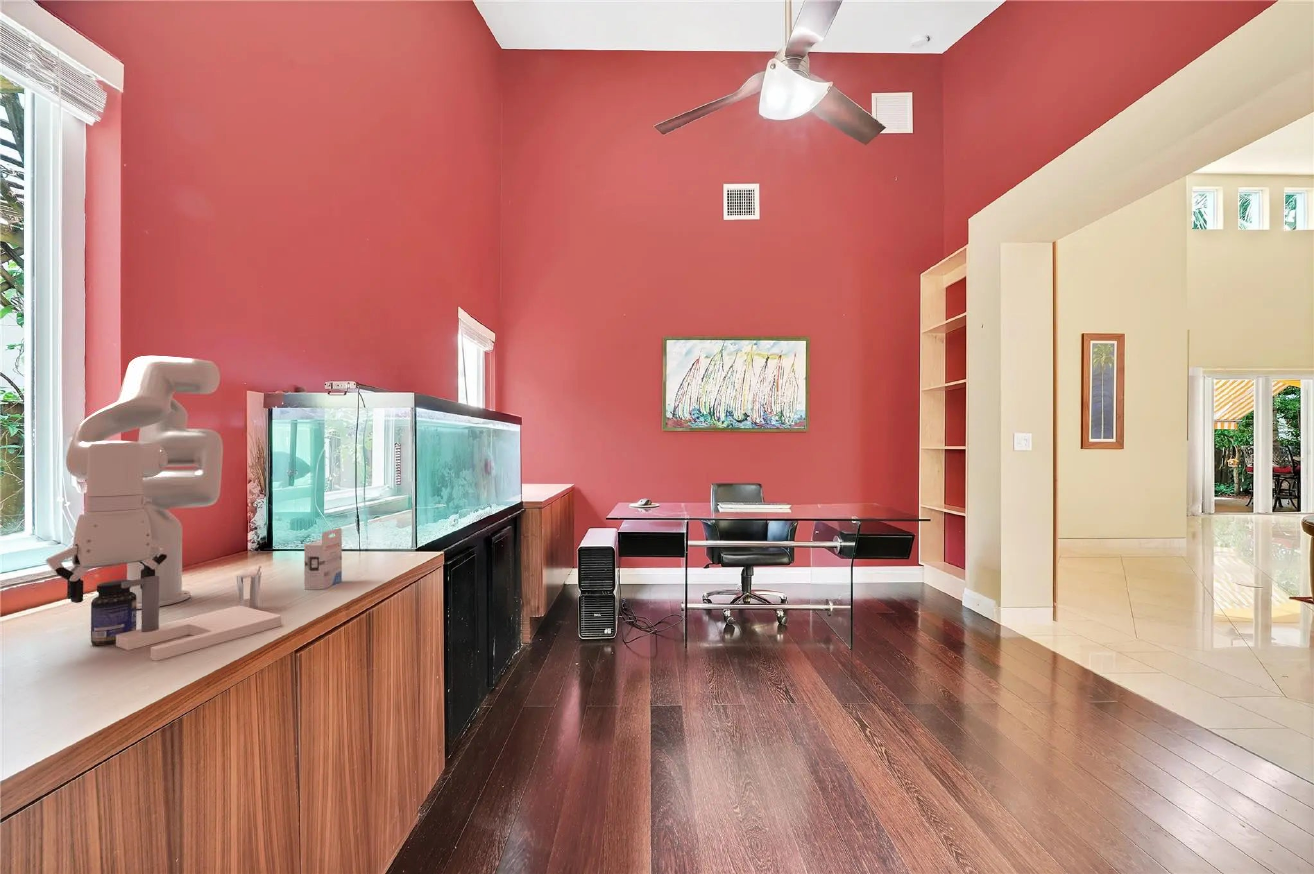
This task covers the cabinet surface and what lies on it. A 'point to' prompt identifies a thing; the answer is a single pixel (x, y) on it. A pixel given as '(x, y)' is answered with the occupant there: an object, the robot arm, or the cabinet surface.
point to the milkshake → (249, 587)
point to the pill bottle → (112, 612)
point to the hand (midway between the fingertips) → (113, 595)
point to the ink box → (323, 561)
